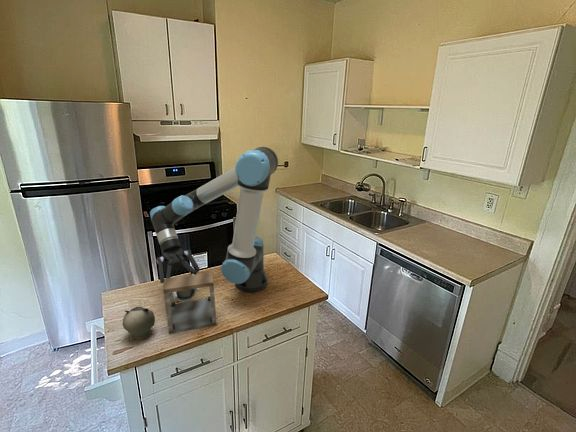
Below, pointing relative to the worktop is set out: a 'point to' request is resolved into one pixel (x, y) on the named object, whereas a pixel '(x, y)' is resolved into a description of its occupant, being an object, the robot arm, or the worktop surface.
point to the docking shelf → (190, 304)
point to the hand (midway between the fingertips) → (186, 293)
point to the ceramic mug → (183, 295)
